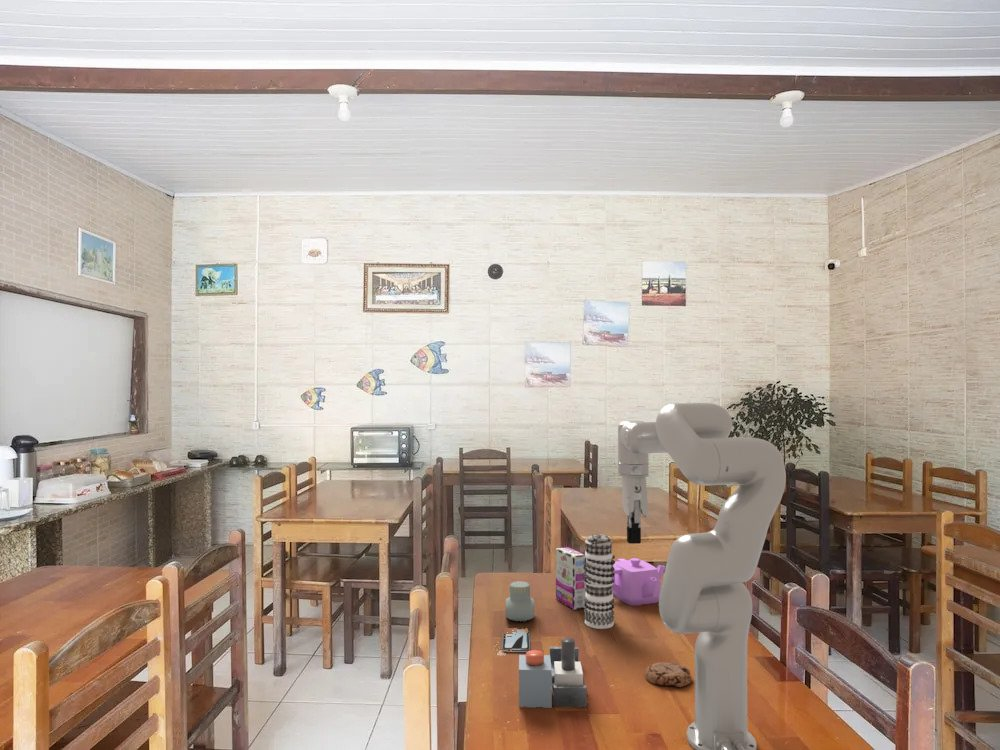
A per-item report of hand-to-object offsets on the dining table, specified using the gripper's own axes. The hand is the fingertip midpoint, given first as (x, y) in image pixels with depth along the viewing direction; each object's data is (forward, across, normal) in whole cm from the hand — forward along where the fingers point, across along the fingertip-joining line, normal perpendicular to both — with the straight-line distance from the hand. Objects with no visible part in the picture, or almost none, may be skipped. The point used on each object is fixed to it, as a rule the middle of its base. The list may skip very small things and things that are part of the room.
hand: (633, 542), depth 151 cm
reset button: (+25, -20, +25) cm, 41 cm away
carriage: (+28, -18, +18) cm, 38 cm away
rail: (+29, -13, +18) cm, 37 cm away
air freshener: (+29, +25, +29) cm, 48 cm away
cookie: (+30, -10, -6) cm, 32 cm away
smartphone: (+30, +10, +30) cm, 43 cm away
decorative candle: (+29, +22, +6) cm, 37 cm away
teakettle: (+29, +43, -9) cm, 53 cm away
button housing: (+29, -20, +26) cm, 44 cm away
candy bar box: (+29, +37, +13) cm, 49 cm away
